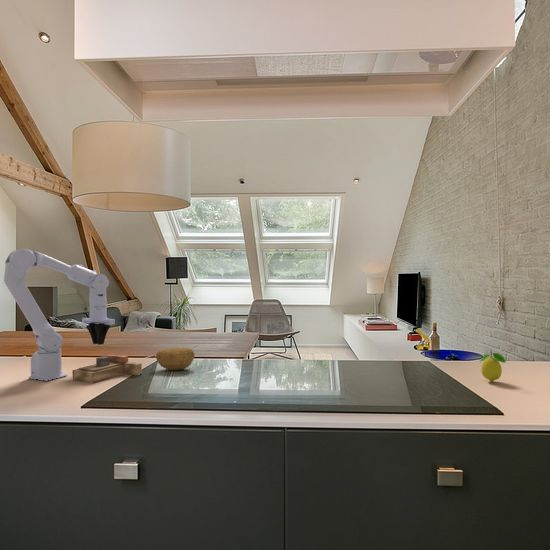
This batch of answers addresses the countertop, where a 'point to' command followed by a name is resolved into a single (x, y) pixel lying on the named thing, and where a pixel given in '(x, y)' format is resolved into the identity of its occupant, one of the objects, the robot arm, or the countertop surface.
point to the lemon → (492, 366)
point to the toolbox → (108, 372)
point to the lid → (101, 365)
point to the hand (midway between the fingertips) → (98, 344)
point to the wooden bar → (118, 358)
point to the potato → (175, 358)
